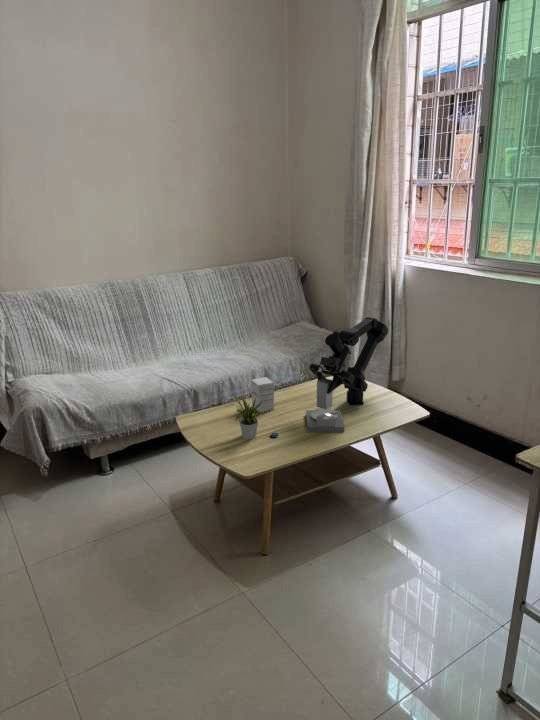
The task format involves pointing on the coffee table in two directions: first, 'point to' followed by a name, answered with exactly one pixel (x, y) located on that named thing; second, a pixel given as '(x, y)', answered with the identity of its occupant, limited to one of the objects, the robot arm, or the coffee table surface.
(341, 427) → the scale base
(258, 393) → the supplement box
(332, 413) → the scale pan
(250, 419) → the house plant
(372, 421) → the coffee table surface
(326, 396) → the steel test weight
